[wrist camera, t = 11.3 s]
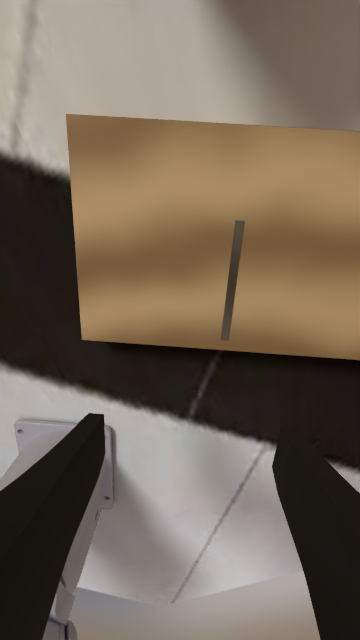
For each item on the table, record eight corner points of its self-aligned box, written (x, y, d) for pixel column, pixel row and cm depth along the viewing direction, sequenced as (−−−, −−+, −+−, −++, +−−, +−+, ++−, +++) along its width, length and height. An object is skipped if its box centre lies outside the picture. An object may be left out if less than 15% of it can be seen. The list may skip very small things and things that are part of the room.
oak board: (518, 355, 19) (563, 375, 17) (94, 325, 20) (81, 339, 17) (625, 162, 15) (705, 151, 13) (84, 129, 16) (65, 113, 13)
